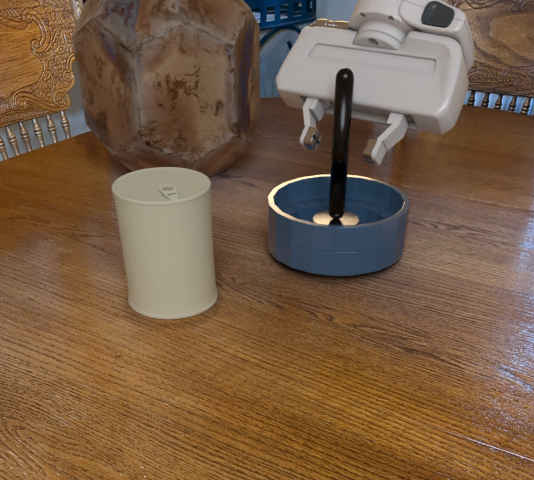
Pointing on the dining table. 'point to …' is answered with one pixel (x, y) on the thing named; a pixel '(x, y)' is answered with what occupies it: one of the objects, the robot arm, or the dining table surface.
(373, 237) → the bowl
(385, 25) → the robot arm
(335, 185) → the black handled meat pounder
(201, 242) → the can
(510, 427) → the dining table surface
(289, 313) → the dining table surface
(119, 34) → the planter
